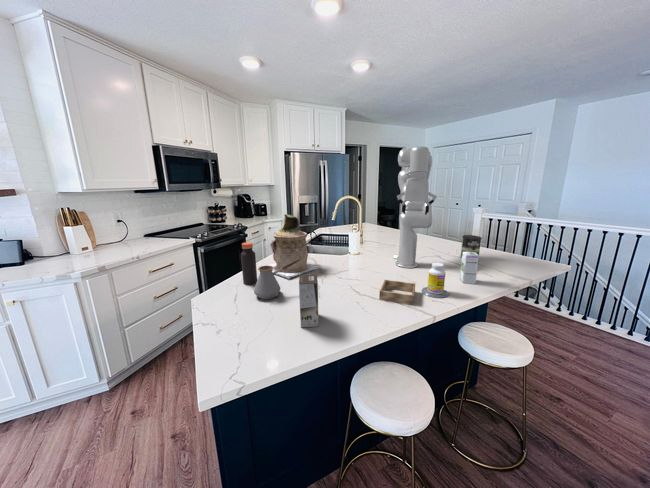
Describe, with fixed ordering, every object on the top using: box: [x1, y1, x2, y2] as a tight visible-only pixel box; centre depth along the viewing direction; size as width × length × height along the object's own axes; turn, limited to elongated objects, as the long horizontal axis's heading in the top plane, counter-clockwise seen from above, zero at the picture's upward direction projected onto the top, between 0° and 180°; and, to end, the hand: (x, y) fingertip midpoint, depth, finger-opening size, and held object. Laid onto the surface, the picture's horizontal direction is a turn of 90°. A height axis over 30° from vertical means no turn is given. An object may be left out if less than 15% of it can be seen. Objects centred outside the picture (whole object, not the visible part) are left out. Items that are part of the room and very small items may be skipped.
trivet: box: [421, 286, 450, 299], centre depth 114 cm, size 11×11×1 cm
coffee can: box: [459, 234, 482, 260], centre depth 161 cm, size 10×10×14 cm
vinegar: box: [240, 241, 258, 286], centre depth 126 cm, size 7×7×20 cm
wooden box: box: [378, 279, 416, 306], centre depth 111 cm, size 13×13×4 cm
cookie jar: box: [266, 213, 320, 280], centre depth 143 cm, size 25×25×32 cm
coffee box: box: [298, 273, 319, 328], centre depth 91 cm, size 9×6×16 cm
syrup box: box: [459, 252, 480, 285], centre depth 125 cm, size 6×6×14 cm
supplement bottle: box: [426, 262, 446, 294], centre depth 113 cm, size 7×7×13 cm
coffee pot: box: [253, 259, 301, 300], centre depth 113 cm, size 21×12×15 cm, turn 109°
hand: (414, 213), depth 120 cm, fingers open, 9 cm apart
